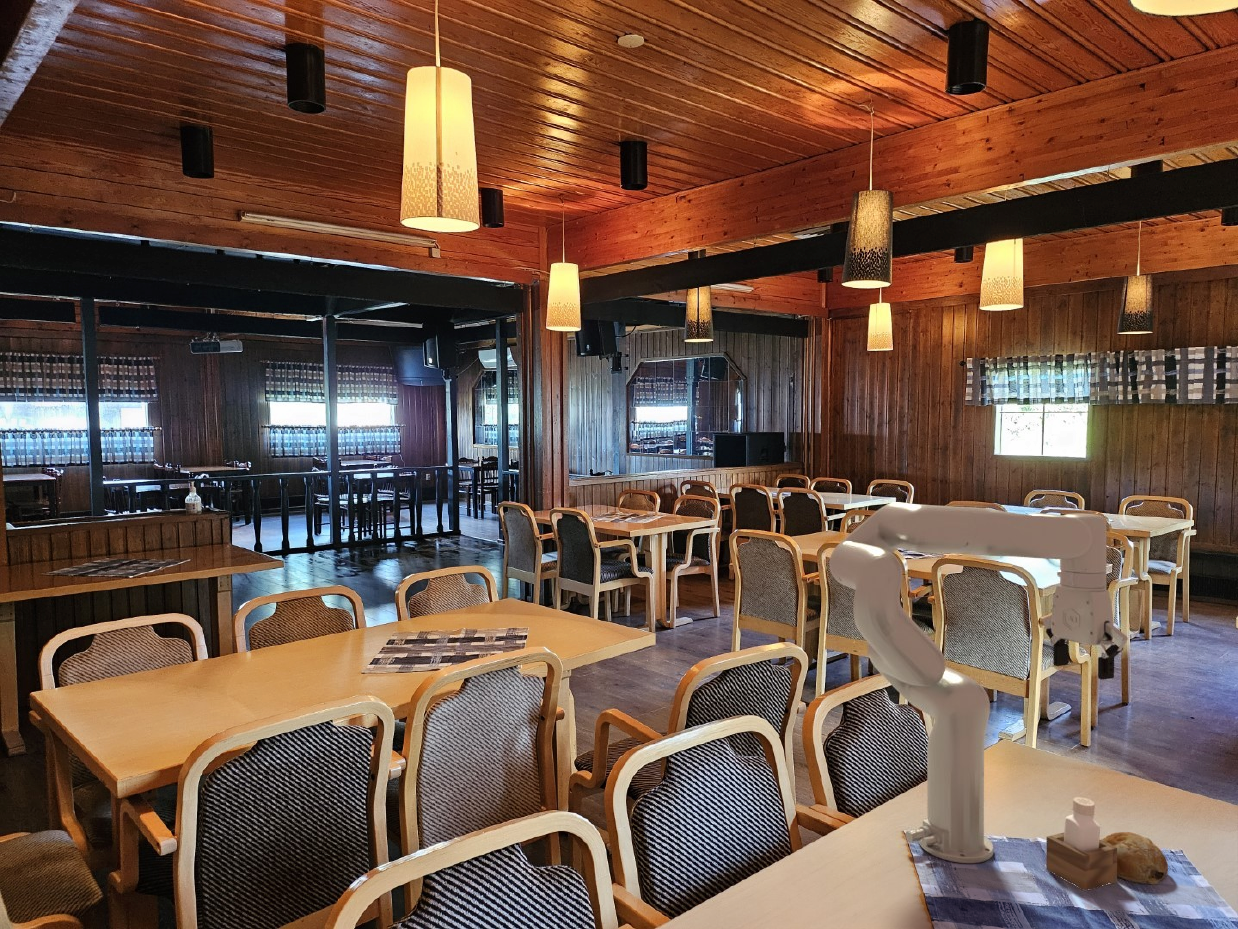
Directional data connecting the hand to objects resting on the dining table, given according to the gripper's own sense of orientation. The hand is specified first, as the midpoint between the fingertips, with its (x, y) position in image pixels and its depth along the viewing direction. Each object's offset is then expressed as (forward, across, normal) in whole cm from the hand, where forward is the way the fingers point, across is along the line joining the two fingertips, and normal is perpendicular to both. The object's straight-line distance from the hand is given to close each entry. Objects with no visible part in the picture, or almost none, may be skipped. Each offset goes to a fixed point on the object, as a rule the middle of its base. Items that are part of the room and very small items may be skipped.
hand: (1082, 671), depth 155 cm
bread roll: (+31, +13, -4) cm, 34 cm away
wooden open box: (+31, +12, -14) cm, 35 cm away
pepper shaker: (+27, +11, -14) cm, 32 cm away
